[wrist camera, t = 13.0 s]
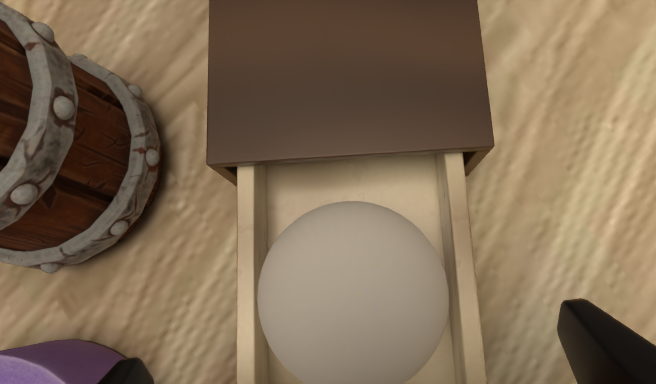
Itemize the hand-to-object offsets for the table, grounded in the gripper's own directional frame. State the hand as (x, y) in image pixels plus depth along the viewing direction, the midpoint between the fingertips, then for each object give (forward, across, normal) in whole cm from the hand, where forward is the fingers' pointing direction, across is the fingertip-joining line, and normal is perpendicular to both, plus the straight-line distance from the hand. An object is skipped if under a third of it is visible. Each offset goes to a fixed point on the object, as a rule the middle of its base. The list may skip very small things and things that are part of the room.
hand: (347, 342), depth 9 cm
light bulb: (+9, 0, +8) cm, 12 cm away
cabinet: (+20, -1, -1) cm, 20 cm away
